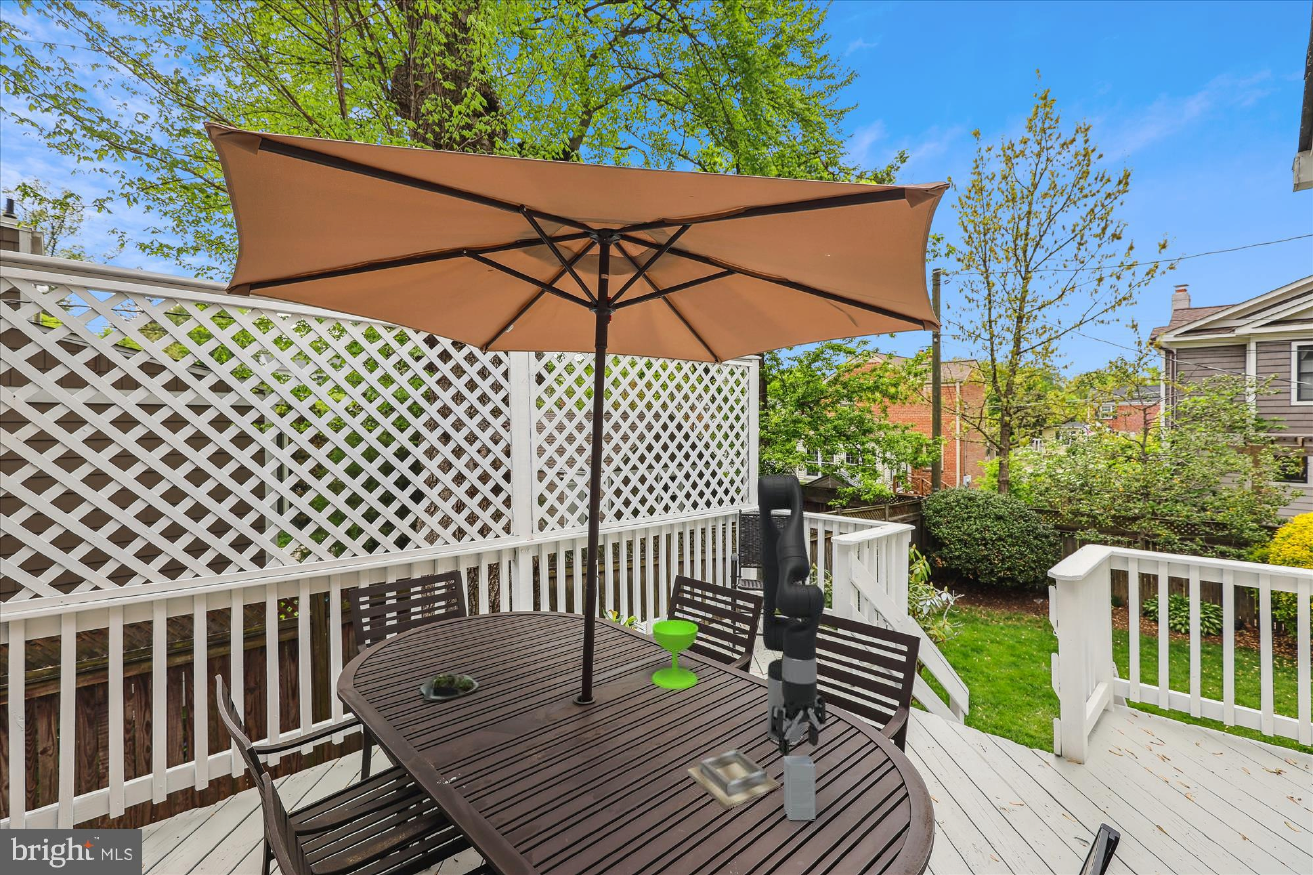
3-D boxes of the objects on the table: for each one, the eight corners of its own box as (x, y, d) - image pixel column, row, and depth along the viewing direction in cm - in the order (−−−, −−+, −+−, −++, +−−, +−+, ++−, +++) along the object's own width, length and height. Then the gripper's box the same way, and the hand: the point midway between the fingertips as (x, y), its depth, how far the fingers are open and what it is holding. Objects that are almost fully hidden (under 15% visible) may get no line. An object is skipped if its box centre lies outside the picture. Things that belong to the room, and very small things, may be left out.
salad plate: (409, 687, 186) (409, 673, 186) (462, 673, 197) (462, 660, 197) (427, 708, 171) (427, 693, 171) (483, 693, 182) (484, 678, 182)
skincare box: (809, 808, 125) (809, 754, 125) (815, 821, 121) (816, 765, 121) (782, 808, 125) (783, 754, 125) (788, 821, 120) (788, 765, 121)
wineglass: (699, 689, 186) (699, 635, 186) (651, 688, 186) (651, 634, 186) (696, 670, 202) (697, 620, 202) (652, 669, 202) (652, 619, 202)
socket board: (738, 756, 146) (738, 742, 146) (780, 788, 132) (780, 773, 132) (687, 773, 138) (687, 759, 138) (726, 810, 124) (727, 794, 124)
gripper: (810, 663, 130) (809, 734, 130) (763, 675, 123) (762, 749, 123) (835, 675, 124) (834, 749, 123) (787, 687, 116) (786, 766, 116)
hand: (798, 749), depth 123 cm, fingers open, 8 cm apart
